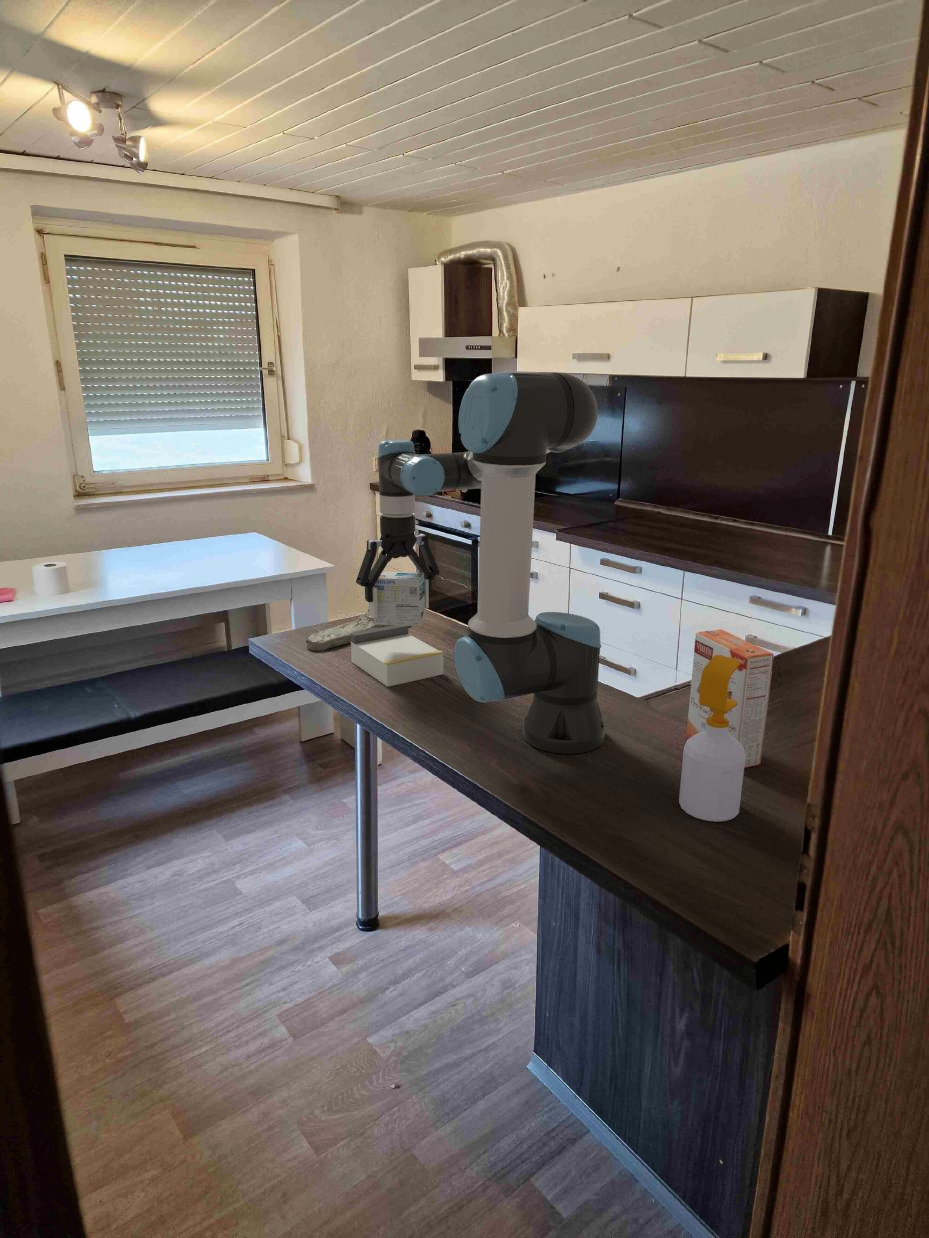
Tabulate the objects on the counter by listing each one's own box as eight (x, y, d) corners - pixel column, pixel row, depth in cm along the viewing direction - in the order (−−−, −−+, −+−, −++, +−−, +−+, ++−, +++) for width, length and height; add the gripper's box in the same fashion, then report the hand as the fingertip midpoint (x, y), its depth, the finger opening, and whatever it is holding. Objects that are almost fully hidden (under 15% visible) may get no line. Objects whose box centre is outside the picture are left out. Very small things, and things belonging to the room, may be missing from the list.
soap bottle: (748, 806, 126) (766, 659, 119) (723, 830, 120) (740, 675, 113) (695, 787, 132) (709, 645, 125) (668, 808, 126) (681, 660, 118)
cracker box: (683, 738, 150) (693, 631, 143) (710, 733, 152) (722, 627, 145) (732, 772, 137) (746, 656, 131) (761, 766, 139) (776, 652, 133)
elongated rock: (296, 651, 199) (323, 662, 193) (295, 631, 197) (321, 642, 191) (396, 613, 224) (423, 622, 218) (396, 595, 222) (422, 603, 216)
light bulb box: (425, 618, 182) (425, 571, 178) (421, 627, 175) (420, 579, 172) (378, 616, 183) (377, 569, 179) (372, 625, 176) (371, 577, 173)
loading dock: (443, 674, 180) (443, 644, 178) (387, 686, 173) (386, 656, 171) (404, 651, 195) (404, 623, 193) (351, 661, 187) (350, 633, 185)
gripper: (437, 506, 181) (437, 599, 187) (337, 516, 168) (341, 615, 175) (455, 511, 175) (454, 607, 181) (352, 522, 162) (356, 624, 169)
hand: (399, 611), depth 178 cm, fingers closed on light bulb box, 12 cm apart
